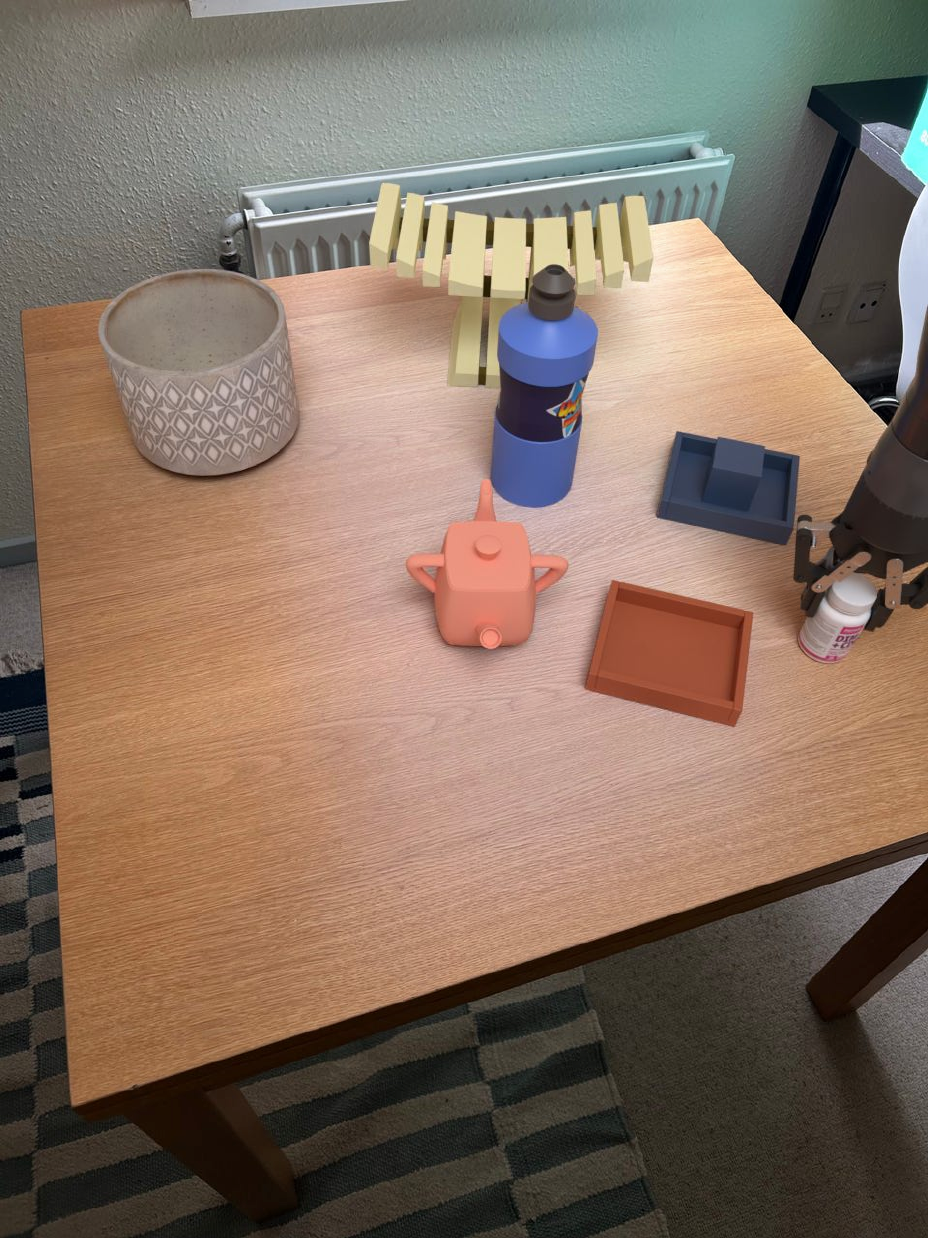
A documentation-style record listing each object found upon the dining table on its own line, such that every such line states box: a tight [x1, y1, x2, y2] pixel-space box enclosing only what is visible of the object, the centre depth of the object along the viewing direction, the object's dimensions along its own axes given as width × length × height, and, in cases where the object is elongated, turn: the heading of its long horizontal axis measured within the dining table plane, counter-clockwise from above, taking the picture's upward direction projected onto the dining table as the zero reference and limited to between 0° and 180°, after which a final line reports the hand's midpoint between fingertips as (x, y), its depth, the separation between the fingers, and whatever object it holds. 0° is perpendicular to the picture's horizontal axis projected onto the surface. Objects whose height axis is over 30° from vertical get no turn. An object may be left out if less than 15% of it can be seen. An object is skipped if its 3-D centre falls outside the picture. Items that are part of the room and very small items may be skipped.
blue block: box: [702, 436, 766, 511], centre depth 98 cm, size 5×5×5 cm
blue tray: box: [656, 430, 801, 546], centre depth 99 cm, size 14×12×3 cm
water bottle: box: [489, 264, 599, 508], centre depth 91 cm, size 9×9×25 cm
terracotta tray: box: [584, 579, 754, 728], centre depth 85 cm, size 14×12×3 cm
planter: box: [97, 268, 300, 477], centre depth 99 cm, size 19×19×14 cm
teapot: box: [405, 478, 569, 650], centre depth 85 cm, size 14×12×10 cm
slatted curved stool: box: [368, 182, 654, 389], centre depth 108 cm, size 30×16×18 cm, turn 87°
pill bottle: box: [797, 572, 878, 664], centre depth 84 cm, size 5×5×8 cm
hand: (838, 616), depth 84 cm, fingers closed on pill bottle, 4 cm apart
